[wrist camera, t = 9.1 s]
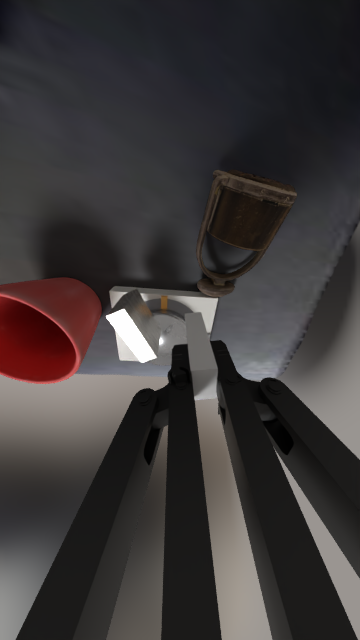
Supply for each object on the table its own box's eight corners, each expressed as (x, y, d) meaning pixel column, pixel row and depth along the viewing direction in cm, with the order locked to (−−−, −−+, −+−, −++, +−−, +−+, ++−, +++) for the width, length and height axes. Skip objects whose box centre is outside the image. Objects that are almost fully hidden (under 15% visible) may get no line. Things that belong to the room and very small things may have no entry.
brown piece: (346, 207, 13) (283, 87, 9) (246, 326, 18) (169, 288, 13) (280, 210, 19) (222, 140, 15) (217, 299, 24) (157, 266, 19)
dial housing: (123, 351, 28) (119, 362, 26) (114, 285, 22) (107, 292, 20) (202, 355, 29) (204, 365, 27) (215, 293, 23) (218, 299, 21)
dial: (199, 345, 24) (207, 385, 18) (151, 362, 26) (143, 403, 20) (165, 271, 19) (159, 294, 13) (105, 298, 20) (75, 329, 14)
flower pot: (89, 254, 20) (26, 276, 12) (124, 326, 25) (98, 376, 17) (15, 274, 21) (-93, 306, 13) (64, 338, 26) (12, 391, 18)
